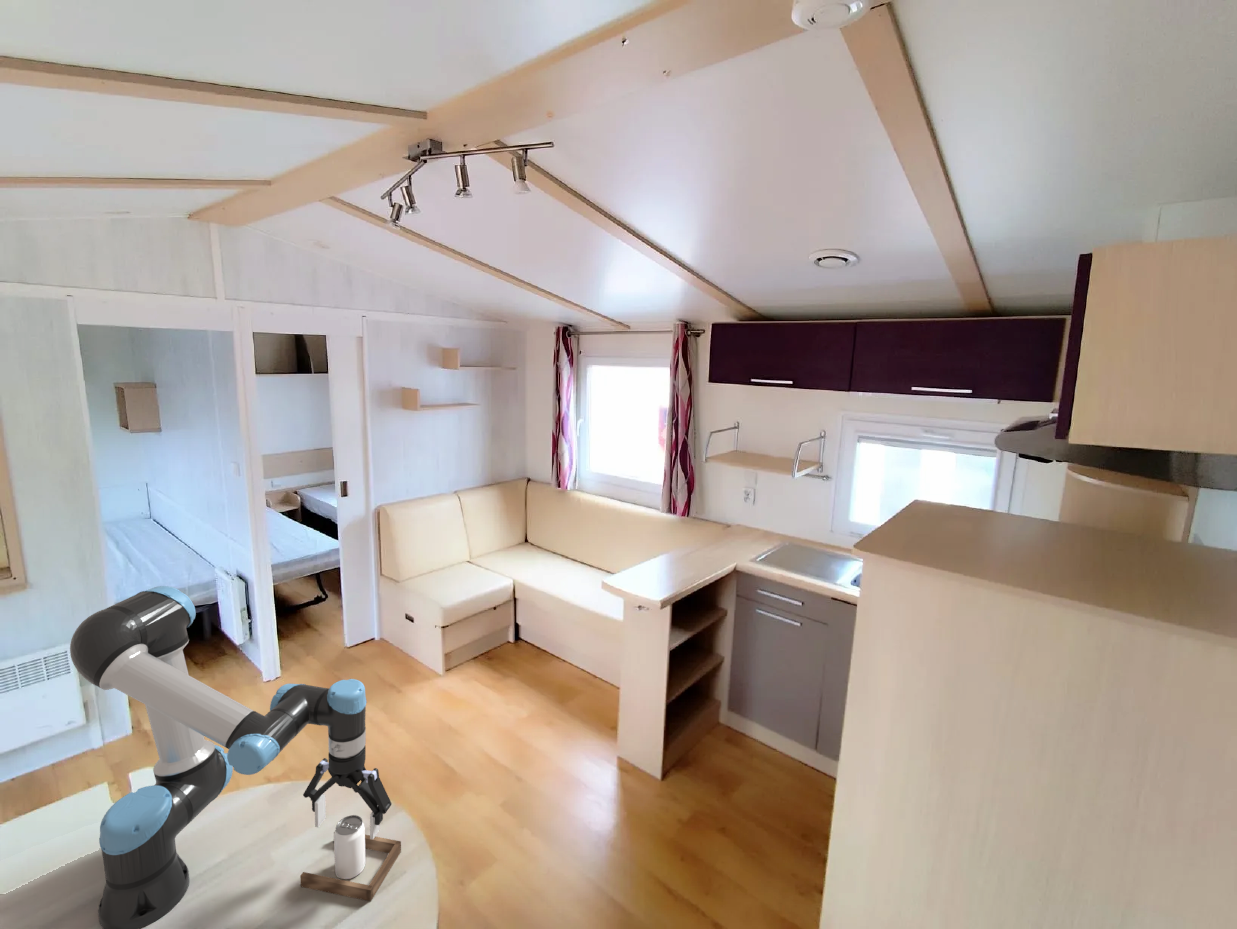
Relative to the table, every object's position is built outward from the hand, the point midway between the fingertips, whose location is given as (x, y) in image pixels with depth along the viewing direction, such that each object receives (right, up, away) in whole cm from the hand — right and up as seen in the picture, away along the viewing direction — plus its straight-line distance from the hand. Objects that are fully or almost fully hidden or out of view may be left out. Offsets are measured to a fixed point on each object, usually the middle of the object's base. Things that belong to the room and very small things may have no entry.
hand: (347, 828), depth 132 cm
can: (0, -11, +2) cm, 11 cm away
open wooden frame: (0, -11, +2) cm, 11 cm away
